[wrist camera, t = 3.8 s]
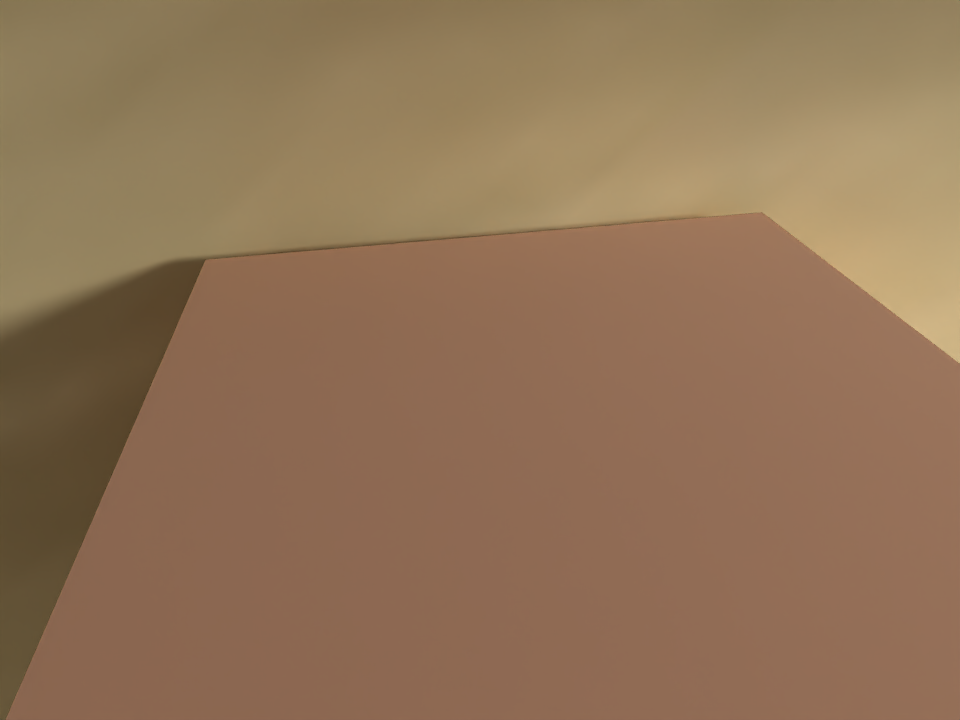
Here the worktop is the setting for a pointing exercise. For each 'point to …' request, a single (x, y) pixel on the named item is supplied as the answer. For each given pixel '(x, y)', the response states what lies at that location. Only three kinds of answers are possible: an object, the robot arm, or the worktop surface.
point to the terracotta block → (526, 493)
